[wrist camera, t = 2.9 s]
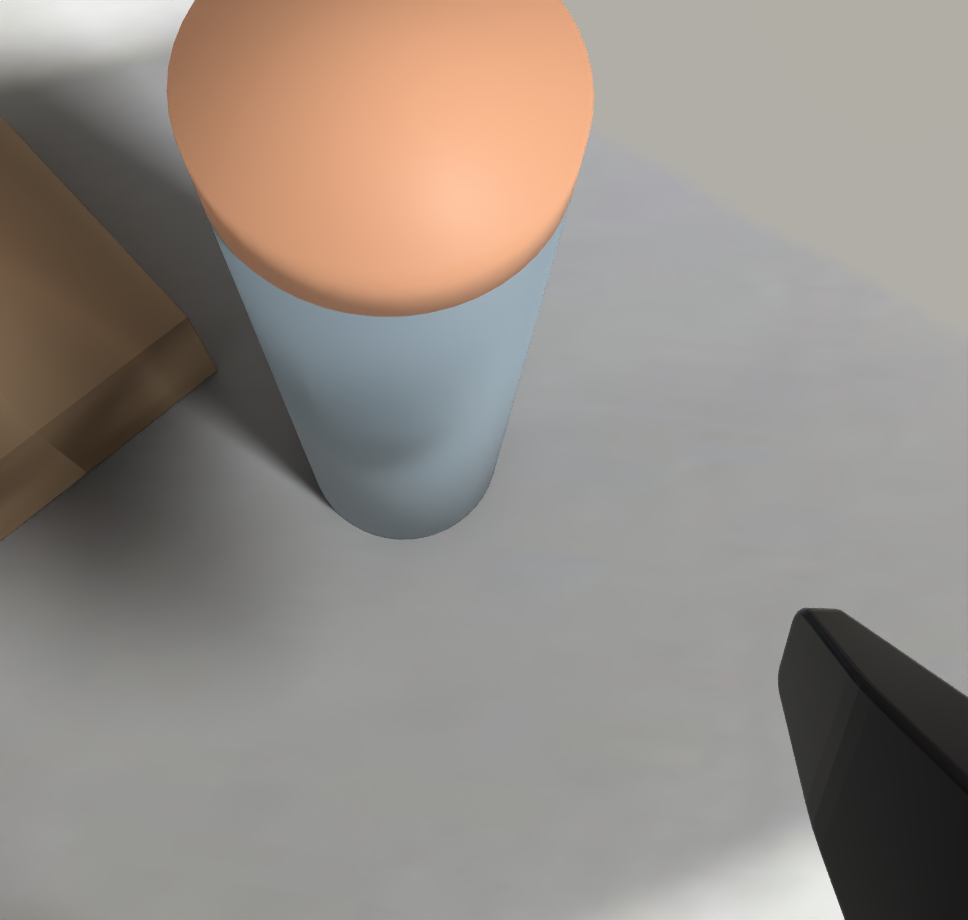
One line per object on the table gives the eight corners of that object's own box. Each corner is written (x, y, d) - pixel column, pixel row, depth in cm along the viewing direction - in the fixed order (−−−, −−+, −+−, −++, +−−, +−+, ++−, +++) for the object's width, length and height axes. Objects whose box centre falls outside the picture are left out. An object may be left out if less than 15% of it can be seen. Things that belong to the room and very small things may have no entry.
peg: (397, 578, 21) (366, 359, 9) (273, 443, 22) (76, 61, 9) (533, 454, 22) (679, 101, 10) (410, 329, 23) (399, -150, 10)
